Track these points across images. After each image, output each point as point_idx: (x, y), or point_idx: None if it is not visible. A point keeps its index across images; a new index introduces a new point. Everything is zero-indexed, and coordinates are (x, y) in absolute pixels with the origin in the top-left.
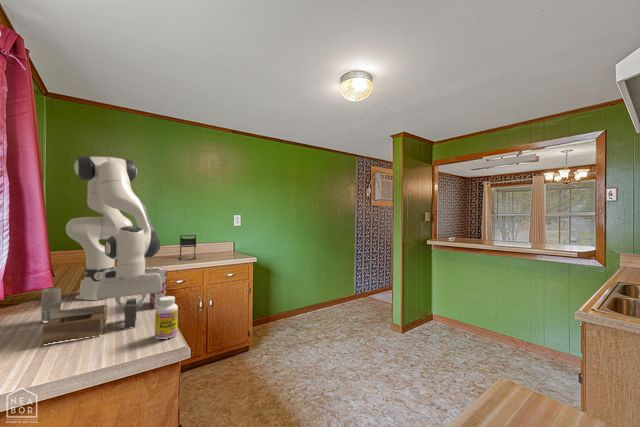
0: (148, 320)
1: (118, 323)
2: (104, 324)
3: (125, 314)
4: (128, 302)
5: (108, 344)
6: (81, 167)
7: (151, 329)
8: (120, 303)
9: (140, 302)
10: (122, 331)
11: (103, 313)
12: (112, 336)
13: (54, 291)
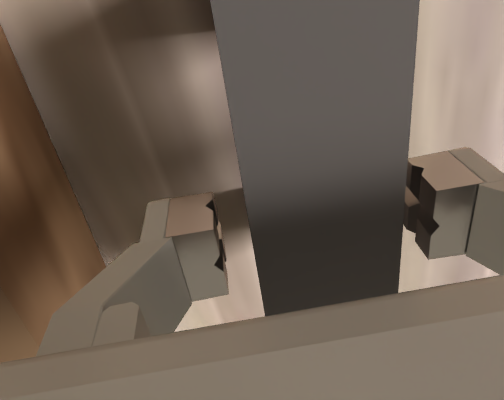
0: (425, 72)
1: (146, 59)
2: (29, 115)
3: None
4: (290, 252)
5: None
6: None
7: (427, 274)
8: (182, 308)
9: (460, 248)
10: (244, 259)
11: (8, 277)
12: (203, 315)
13: None
